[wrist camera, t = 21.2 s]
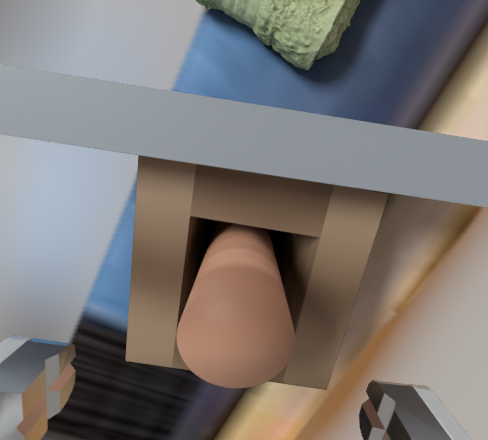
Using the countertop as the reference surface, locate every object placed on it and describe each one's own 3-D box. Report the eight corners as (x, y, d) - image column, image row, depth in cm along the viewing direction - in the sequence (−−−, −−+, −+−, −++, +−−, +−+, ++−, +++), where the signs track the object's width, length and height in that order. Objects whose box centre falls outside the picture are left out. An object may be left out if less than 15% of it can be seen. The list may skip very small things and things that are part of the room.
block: (297, 300, 21) (326, 390, 13) (170, 280, 21) (125, 360, 13) (329, 173, 18) (388, 193, 11) (184, 148, 18) (138, 150, 10)
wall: (422, 184, 19) (613, 226, 9) (73, 131, 18) (-130, 114, 8) (432, 155, 18) (645, 166, 8) (72, 99, 17) (-146, 40, 8)
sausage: (262, 250, 20) (283, 394, 8) (215, 244, 20) (172, 380, 8) (270, 205, 19) (306, 297, 8) (221, 198, 19) (181, 280, 7)
